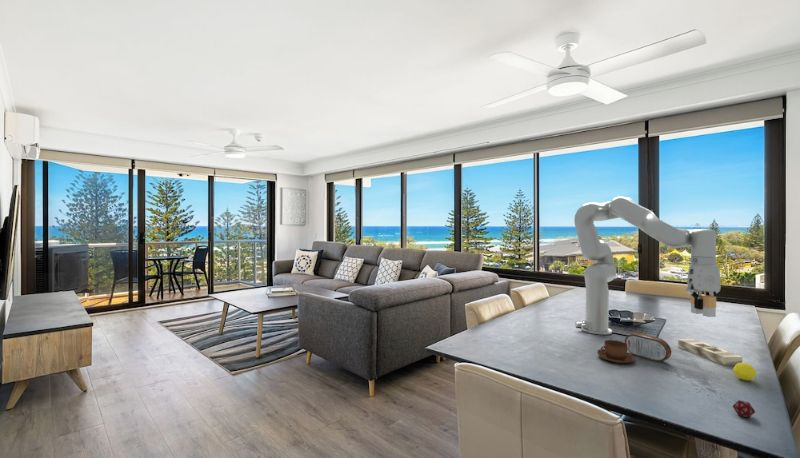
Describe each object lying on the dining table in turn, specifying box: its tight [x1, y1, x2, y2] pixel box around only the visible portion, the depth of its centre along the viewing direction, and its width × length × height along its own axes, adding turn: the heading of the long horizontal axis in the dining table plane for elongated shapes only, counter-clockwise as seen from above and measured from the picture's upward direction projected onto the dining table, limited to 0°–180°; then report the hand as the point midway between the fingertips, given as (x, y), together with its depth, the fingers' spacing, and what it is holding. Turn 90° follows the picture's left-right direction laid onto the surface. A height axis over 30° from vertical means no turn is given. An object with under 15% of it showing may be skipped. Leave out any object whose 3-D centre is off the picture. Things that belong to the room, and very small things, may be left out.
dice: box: [732, 399, 756, 419], centre depth 98 cm, size 4×4×4 cm
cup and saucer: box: [597, 339, 635, 364], centre depth 139 cm, size 12×12×6 cm
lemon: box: [733, 362, 757, 381], centre depth 122 cm, size 7×5×5 cm
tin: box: [624, 332, 672, 363], centre depth 141 cm, size 15×3×8 cm, turn 34°
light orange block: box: [690, 292, 717, 318], centre depth 145 cm, size 8×3×8 cm, turn 5°
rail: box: [677, 338, 743, 366], centre depth 144 cm, size 20×7×3 cm, turn 5°
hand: (703, 308), depth 145 cm, fingers closed on light orange block, 3 cm apart
